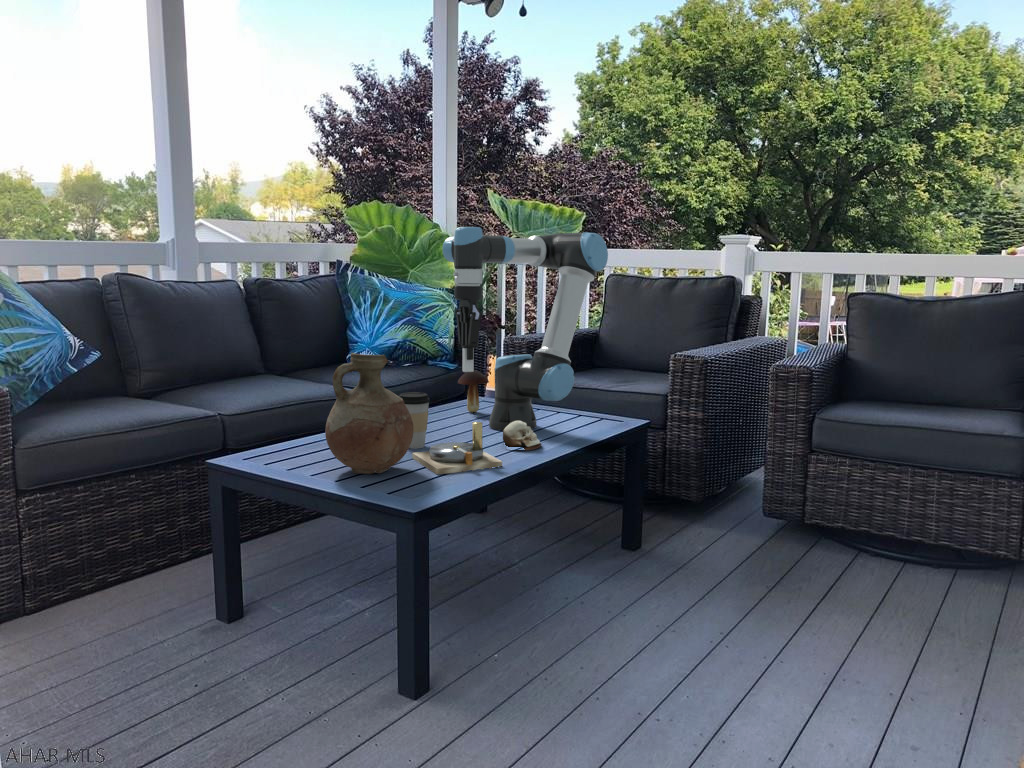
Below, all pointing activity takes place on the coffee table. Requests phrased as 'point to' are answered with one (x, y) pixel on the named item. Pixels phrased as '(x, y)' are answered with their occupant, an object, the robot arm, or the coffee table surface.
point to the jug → (367, 419)
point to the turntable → (460, 448)
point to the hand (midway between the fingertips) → (468, 371)
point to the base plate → (450, 467)
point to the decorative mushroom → (473, 388)
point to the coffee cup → (417, 416)
